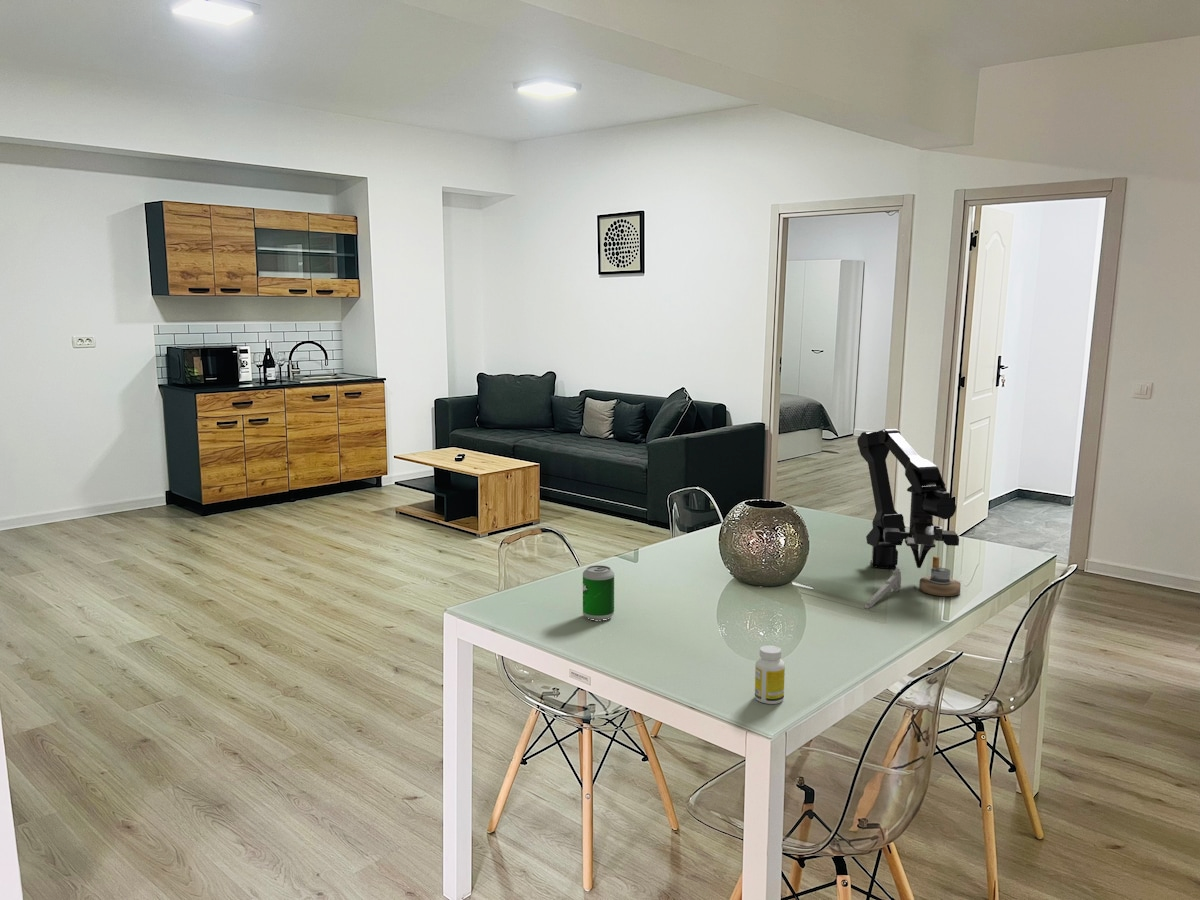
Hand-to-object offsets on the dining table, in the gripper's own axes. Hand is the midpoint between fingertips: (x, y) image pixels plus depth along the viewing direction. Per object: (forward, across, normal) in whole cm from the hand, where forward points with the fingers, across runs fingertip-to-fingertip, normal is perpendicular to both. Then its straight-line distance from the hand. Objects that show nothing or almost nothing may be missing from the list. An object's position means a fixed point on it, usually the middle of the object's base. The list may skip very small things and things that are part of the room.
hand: (918, 567), depth 241 cm
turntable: (+4, +4, -5) cm, 8 cm away
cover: (+2, +4, -7) cm, 9 cm away
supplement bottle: (+4, -38, -83) cm, 91 cm away
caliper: (+4, -11, -16) cm, 20 cm away
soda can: (+4, -79, -45) cm, 91 cm away
